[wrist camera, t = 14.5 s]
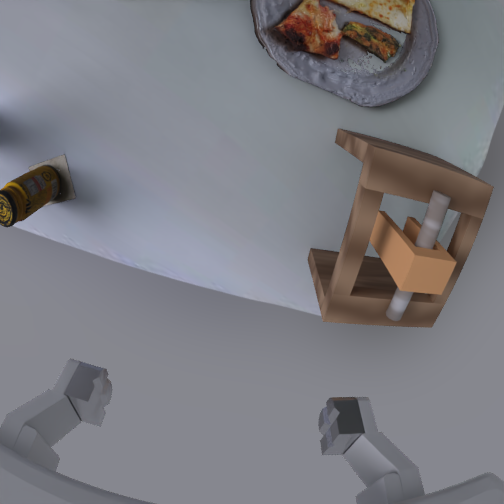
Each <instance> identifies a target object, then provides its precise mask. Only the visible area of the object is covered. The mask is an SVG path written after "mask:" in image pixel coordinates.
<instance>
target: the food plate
mask: <svg viewBox="0 0 504 504" xmlns="http://www.w3.org/2000/svg"><path fill="white" fill-rule="evenodd" d="M250 4H251V6H250V7H251V13H252V16H253V22H254V27H255V34H256V37H257V39H258V41H259V43H260V44H261V45H262V46H263V49H264V47H266V50H267V52H268V54H269V56H270V57H271V58H272V59H274V60H275V61H276V62H277V65H278V67H279V68H280V69H282V70H283V71H285V72H286V73H287V74H289V75H290V76H292V77H294V78H298V79H300V80H302V81H304V82H307V83H310V84H312V85H315V86H317V87H320V88H322V89H324V90H326V91H329V92H331V93H334V94H336V95H338V96H340V97H342V98H345V99H347V100H348V99H350V100H351V102H353V103H354V102H355V104H356V103H357V105H358V104H359V106H367V107H372V106H381V105H385V104H387V103H390V102H393V101H394V100H397V99H399V98H401V97H402V96H403V95H405V94H407V93H409V92H410V91H413V90H414V89H415V88H416V87H417V86H418V85H419V84H420V83H421V82H422V80H423V79H424V78H425V77H426V76H427V75H428V72H429V69H430V68H431V65H432V63H433V59H434V56H435V53H436V49H437V46H438V43H439V38H438V32H437V26H436V24H437V23H436V17H435V15H434V11H433V9H432V6H431V3H430V2H429V0H250ZM323 6H325V7H323ZM344 14H345V15H344ZM370 21H371V22H370ZM371 23H372V24H377V25H381V26H383V27H386V28H387V29H390V28H391V29H392V30H395V31H398V32H399V33H401V31H402V32H404V33H407V36H406V40H405V42H404V45H403V47H402V50H401V52H400V56H399V58H398V59H397V60H395V62H394V63H391V64H390V66H388V67H385V68H384V69H383V71H376V69H373V70H374V72H373V73H369V71H368V70H366V69H364V68H363V65H362V62H364V65H366V62H365V61H364V60H363V61H362V60H361V59H359V58H360V57H362V58H363V57H364V56H366V55H368V53H367V51H368V52H369V53H372V54H374V55H375V56H376V57H379V58H380V59H381V60H383V62H384V63H386V60H388V58H389V57H394V55H396V54H395V53H396V52H397V49H398V47H401V44H400V43H398V42H397V41H396V39H395V38H394V37H393V36H391V35H390V34H387V33H384V32H382V31H381V29H377V28H376V27H374V25H372V24H371ZM356 43H357V44H356ZM363 55H364V56H363ZM348 58H349V59H352V60H353V61H355V62H356V64H358V65H360V66H361V67H362V69H363V70H361V69H360V70H358V69H356V68H354V69H352V68H351V66H349V63H348V62H347V61H348ZM366 58H367V57H366ZM369 58H370V59H371V58H372V56H369ZM369 58H367V59H369ZM341 59H342V60H343V62H340V60H341ZM367 62H368V64H369V60H368V61H367ZM324 63H326V64H324ZM353 64H354V62H353ZM347 65H348V66H347ZM355 66H356V65H355ZM373 66H374V65H373ZM337 67H338V68H337ZM366 67H368V66H366ZM372 68H373V67H372ZM342 69H343V70H344V71H347V73H344V72H343V71H341V70H342ZM346 69H347V70H346ZM380 69H381V66H380ZM351 70H354V71H356V72H350V71H351ZM357 70H358V71H357ZM358 73H360V74H358Z"/></svg>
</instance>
